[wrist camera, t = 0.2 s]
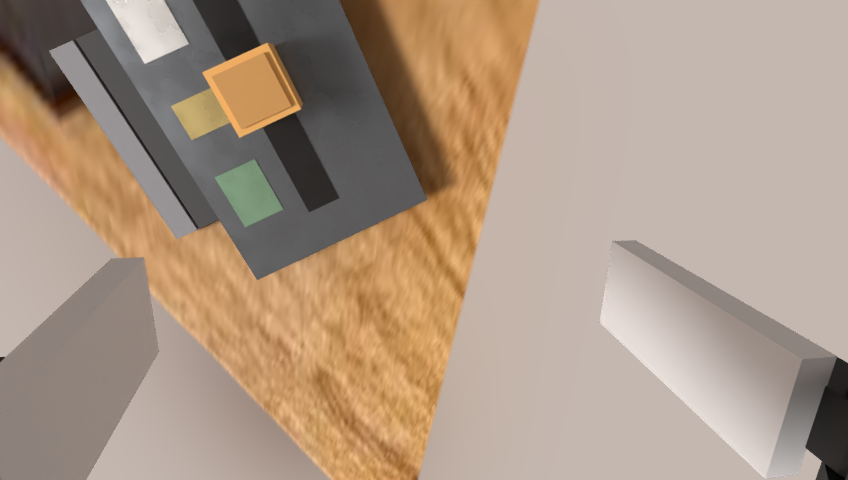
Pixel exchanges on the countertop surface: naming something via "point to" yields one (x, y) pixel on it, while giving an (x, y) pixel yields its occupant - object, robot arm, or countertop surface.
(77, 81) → the light grey bar
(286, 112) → the orange block
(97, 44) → the dark grey bar
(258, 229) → the panel
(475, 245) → the countertop surface
